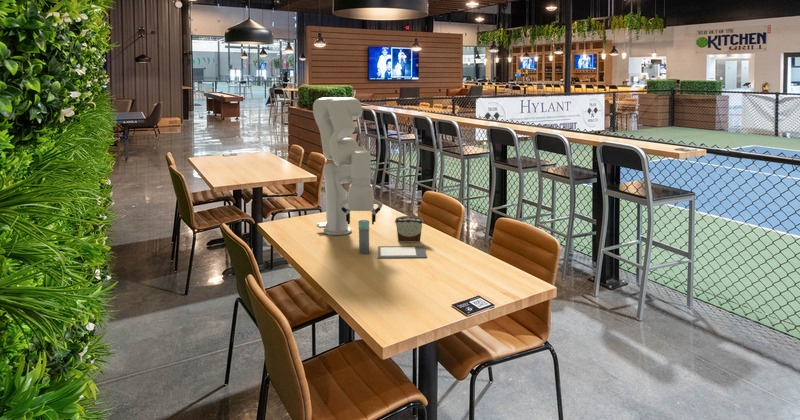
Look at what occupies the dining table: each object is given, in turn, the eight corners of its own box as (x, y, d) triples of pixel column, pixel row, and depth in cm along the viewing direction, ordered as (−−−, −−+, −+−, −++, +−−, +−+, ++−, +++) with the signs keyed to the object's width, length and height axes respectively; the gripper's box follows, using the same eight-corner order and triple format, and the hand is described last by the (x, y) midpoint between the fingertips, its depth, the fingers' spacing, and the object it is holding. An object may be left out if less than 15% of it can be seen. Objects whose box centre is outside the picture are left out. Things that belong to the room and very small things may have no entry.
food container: (424, 238, 252) (424, 215, 250) (423, 242, 246) (423, 219, 244) (396, 237, 254) (396, 215, 251) (394, 241, 248) (394, 218, 245)
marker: (358, 254, 230) (358, 222, 227) (359, 251, 234) (358, 220, 231) (369, 254, 230) (369, 222, 227) (369, 251, 234) (369, 219, 231)
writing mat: (377, 258, 225) (377, 257, 225) (378, 247, 239) (378, 246, 239) (426, 257, 225) (426, 256, 225) (424, 246, 240) (424, 245, 240)
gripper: (338, 183, 225) (338, 226, 229) (382, 184, 225) (382, 226, 230) (339, 179, 232) (339, 220, 236) (382, 179, 232) (382, 220, 237)
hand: (360, 223), depth 233 cm, fingers open, 9 cm apart
